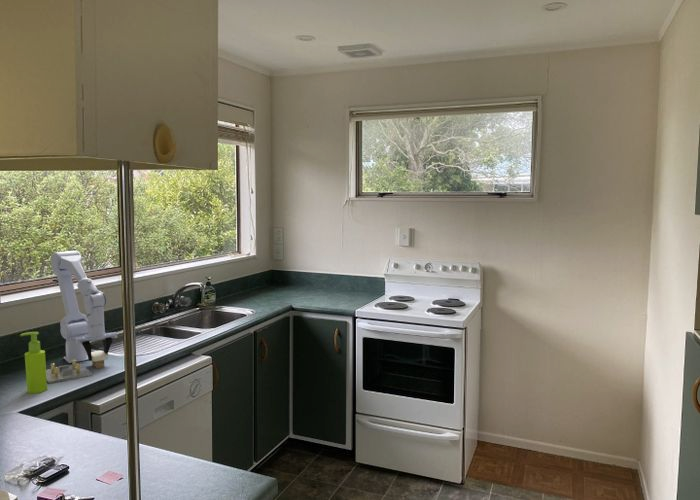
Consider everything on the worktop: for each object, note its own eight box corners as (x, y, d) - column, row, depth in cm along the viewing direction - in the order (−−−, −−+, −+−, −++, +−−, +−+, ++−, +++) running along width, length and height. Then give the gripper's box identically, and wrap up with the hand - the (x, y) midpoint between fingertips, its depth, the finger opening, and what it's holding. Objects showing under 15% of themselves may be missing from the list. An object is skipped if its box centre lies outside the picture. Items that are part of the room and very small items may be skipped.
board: (87, 356, 212) (87, 352, 212) (101, 354, 215) (101, 350, 215) (94, 361, 205) (93, 357, 205) (108, 359, 208) (107, 355, 208)
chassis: (40, 372, 202) (39, 362, 202) (81, 365, 211) (80, 355, 210) (49, 383, 190) (48, 372, 189) (92, 375, 198) (91, 364, 198)
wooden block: (92, 364, 212) (91, 356, 211) (100, 363, 213) (99, 355, 213) (96, 368, 207) (96, 360, 207) (104, 367, 209) (103, 358, 208)
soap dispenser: (25, 389, 184) (21, 331, 182) (48, 386, 187) (45, 329, 185) (21, 394, 179) (18, 335, 177) (45, 392, 181) (42, 333, 179)
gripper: (78, 328, 201) (80, 364, 202) (119, 323, 210) (120, 357, 211) (73, 325, 206) (75, 360, 208) (113, 320, 216) (115, 353, 217)
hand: (97, 358), depth 210 cm, fingers closed on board, 5 cm apart
